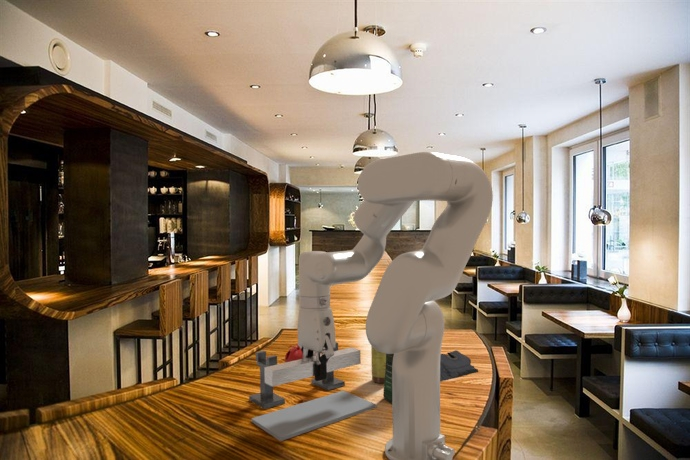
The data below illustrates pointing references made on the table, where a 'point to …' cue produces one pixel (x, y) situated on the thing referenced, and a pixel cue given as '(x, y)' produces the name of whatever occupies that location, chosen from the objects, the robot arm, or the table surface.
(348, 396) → the mat
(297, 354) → the pomegranate
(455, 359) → the dark grey notched piece
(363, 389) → the table surface
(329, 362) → the hang bar
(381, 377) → the sauce bottle
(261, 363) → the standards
